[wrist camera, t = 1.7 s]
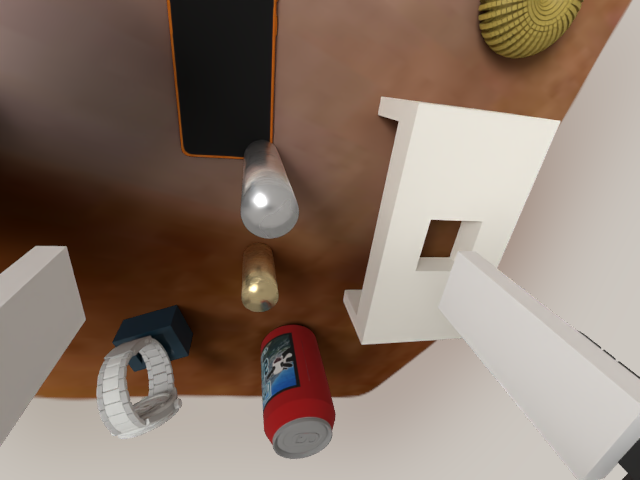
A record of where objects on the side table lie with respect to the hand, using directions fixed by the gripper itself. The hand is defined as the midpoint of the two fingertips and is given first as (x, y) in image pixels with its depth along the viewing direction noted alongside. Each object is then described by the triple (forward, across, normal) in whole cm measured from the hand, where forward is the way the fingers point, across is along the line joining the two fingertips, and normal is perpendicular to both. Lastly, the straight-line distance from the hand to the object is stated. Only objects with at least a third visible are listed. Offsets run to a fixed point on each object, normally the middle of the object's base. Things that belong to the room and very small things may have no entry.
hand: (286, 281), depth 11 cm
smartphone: (+20, -3, +8) cm, 22 cm away
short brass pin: (+19, 0, -10) cm, 22 cm away
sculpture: (+20, +20, +14) cm, 31 cm away
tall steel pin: (+19, 0, 0) cm, 19 cm away
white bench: (+19, +16, -5) cm, 25 cm away
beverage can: (+20, +4, -22) cm, 30 cm away
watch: (+19, -10, -19) cm, 29 cm away
